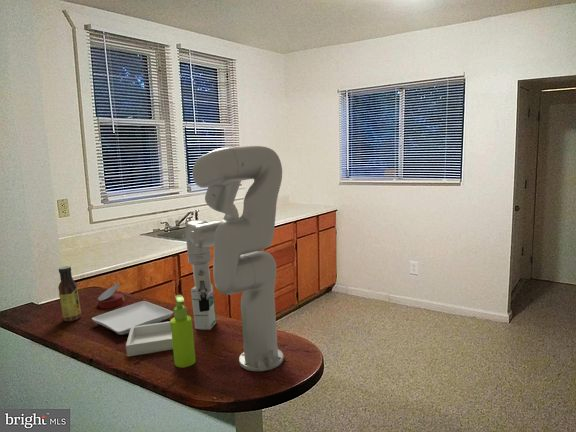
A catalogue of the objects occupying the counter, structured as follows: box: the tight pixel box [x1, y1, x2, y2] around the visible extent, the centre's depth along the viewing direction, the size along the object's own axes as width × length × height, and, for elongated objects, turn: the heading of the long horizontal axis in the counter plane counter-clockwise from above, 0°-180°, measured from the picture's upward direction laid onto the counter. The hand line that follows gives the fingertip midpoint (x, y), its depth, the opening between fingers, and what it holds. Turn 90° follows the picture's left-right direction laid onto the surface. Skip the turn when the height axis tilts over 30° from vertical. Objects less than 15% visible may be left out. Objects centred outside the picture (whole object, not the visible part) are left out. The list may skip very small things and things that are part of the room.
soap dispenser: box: [170, 294, 197, 368], centre depth 119 cm, size 6×7×20 cm
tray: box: [125, 321, 173, 357], centre depth 134 cm, size 14×14×4 cm
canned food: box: [97, 282, 125, 309], centre depth 172 cm, size 11×10×10 cm
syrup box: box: [190, 283, 217, 331], centre depth 144 cm, size 6×6×14 cm
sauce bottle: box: [58, 266, 82, 323], centre depth 156 cm, size 7×6×20 cm
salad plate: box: [91, 300, 174, 336], centre depth 152 cm, size 21×21×3 cm
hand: (203, 305), depth 144 cm, fingers open, 9 cm apart
